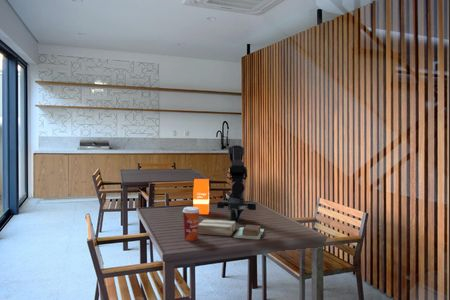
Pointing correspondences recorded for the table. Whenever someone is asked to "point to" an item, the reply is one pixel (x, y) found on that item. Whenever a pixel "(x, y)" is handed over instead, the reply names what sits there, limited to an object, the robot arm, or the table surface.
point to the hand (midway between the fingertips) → (237, 222)
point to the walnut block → (251, 230)
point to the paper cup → (191, 223)
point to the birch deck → (216, 227)
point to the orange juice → (201, 195)
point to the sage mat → (240, 235)
